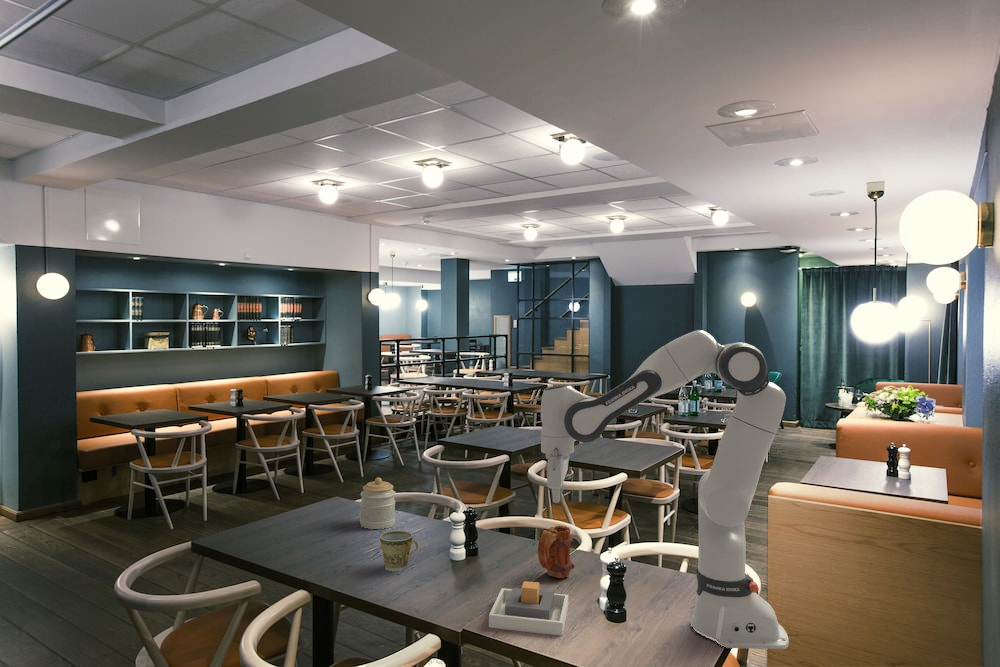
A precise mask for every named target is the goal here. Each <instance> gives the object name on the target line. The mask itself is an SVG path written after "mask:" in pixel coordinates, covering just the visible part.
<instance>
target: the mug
mask: <svg viewBox="0 0 1000 667" xmlns="http://www.w3.org/2000/svg"><path fill="white" fill-rule="evenodd" d="M548 530H549V531H547V530H544V531H542V533H541V536H540V537H539V541H538V547H537V554H538V556H537V557H538V560H539V563H540V565H541V567H542V568H543V569H546V572H547V575H548V576H550V577H552V578H555V577H556V579H565V578H564V577H567V576H568V577H569V576H570V571H572V570H573V569H575V564H574V563H573V562H572V561H571V546H572V545H573V544H574V543H575V540H574V539H573V537H572V536H571V529H570V527H568V526H565V525H555V526H551V527H550V528H549V529H548ZM568 577H567V578H568Z"/></svg>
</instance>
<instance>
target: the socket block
mask: <svg viewBox="0 0 1000 667" xmlns="http://www.w3.org/2000/svg"><path fill="white" fill-rule="evenodd" d="M511 589H512V591H511V593H510V596H509V598H508V600H507V603H506V605H505V615H508V616H517V617H527V618H536V619H545V620H551V619H552V615H553V611H554V594H555V591H549V590H540V589H539V604H529V603H521V592H522V587H521V588H520V587H519V588H518V587H512V588H511Z"/></svg>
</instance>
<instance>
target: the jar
mask: <svg viewBox="0 0 1000 667" xmlns="http://www.w3.org/2000/svg"><path fill="white" fill-rule="evenodd" d="M362 489H363V491H361V492H360V496H361V500H360V503H359V504H360V518H359V523H360V527H361V528H363V527H364V528H363V529H366V528H368V529H367V530H373V529H378V530H385V529H384V528H386V529H388V528H389V529H390V528H391V526H392V527H393V526H394V525H395V523H396V512H395V511H396V500H395V495H396V491H395V490H394V485H393V484H391V483H390V482H389V481H386V480H385V481H383V479H382V478H381V477H376V478H375V479H374V481H369V482H367V483H366V484H365V485H363V486H362Z"/></svg>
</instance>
